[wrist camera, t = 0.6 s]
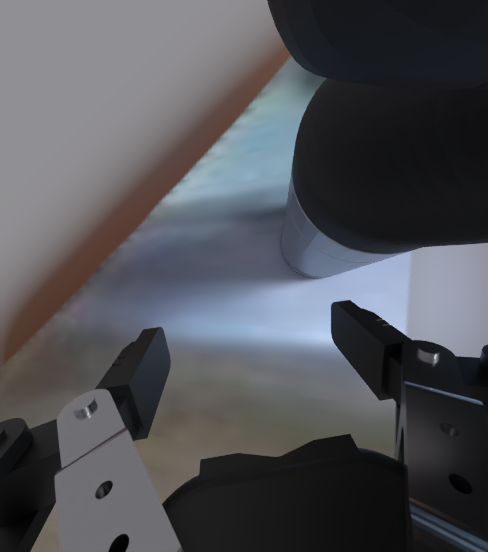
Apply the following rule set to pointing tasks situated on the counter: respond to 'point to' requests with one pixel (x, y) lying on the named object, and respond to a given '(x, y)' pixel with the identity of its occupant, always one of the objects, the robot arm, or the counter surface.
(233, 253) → the counter surface
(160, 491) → the counter surface
